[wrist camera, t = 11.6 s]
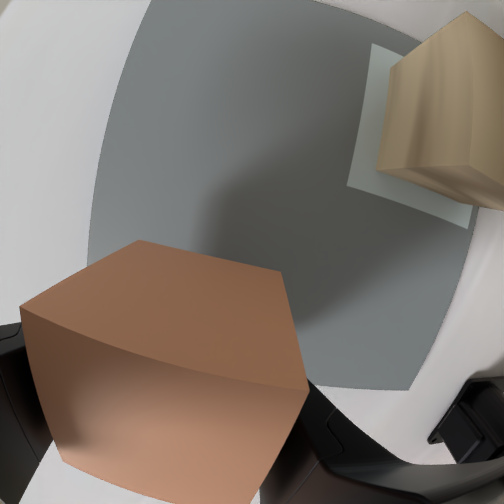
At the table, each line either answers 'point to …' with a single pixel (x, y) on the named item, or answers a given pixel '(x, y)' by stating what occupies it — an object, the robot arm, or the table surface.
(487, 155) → the maple block
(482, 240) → the table surface
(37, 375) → the terracotta block
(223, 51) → the board
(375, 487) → the robot arm
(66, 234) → the table surface
